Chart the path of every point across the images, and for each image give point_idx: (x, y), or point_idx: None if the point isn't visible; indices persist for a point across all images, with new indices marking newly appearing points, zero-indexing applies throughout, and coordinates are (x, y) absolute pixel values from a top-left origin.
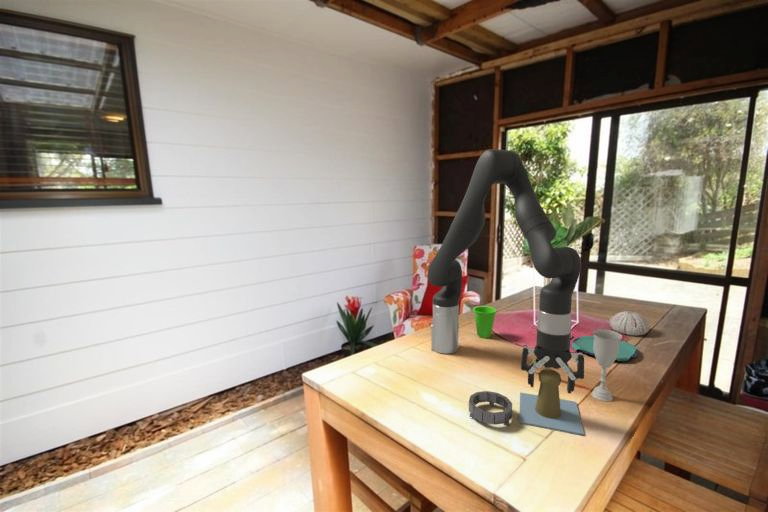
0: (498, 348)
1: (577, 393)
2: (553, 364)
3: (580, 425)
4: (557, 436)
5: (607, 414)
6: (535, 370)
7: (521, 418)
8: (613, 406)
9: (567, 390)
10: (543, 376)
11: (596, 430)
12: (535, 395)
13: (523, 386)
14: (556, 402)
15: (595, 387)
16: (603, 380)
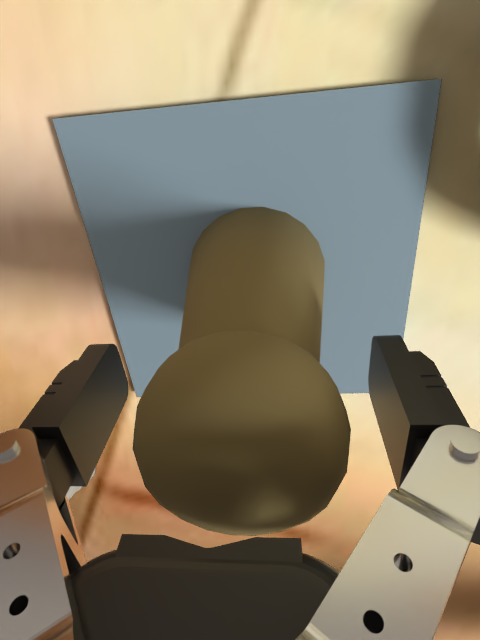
0: (447, 635)
1: None
2: (176, 603)
3: (85, 205)
4: (192, 28)
5: (9, 354)
6: (415, 472)
7: (420, 129)
8: (5, 413)
9: (119, 372)
10: (308, 408)
11: (16, 205)
12: None
13: (369, 444)
14: (199, 274)
15: (69, 494)
16: None
